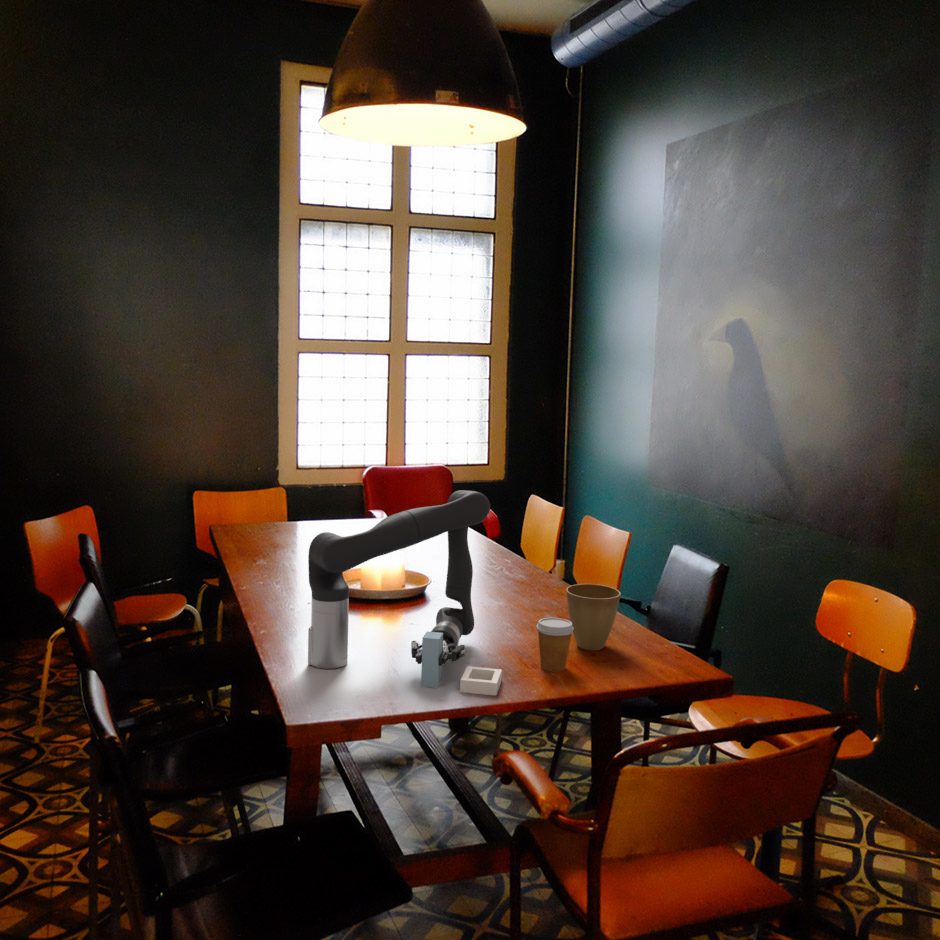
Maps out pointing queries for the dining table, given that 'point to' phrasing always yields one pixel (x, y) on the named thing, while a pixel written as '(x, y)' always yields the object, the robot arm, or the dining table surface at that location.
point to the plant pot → (592, 613)
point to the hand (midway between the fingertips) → (429, 660)
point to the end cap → (481, 680)
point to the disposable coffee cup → (554, 642)
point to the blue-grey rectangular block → (431, 659)
